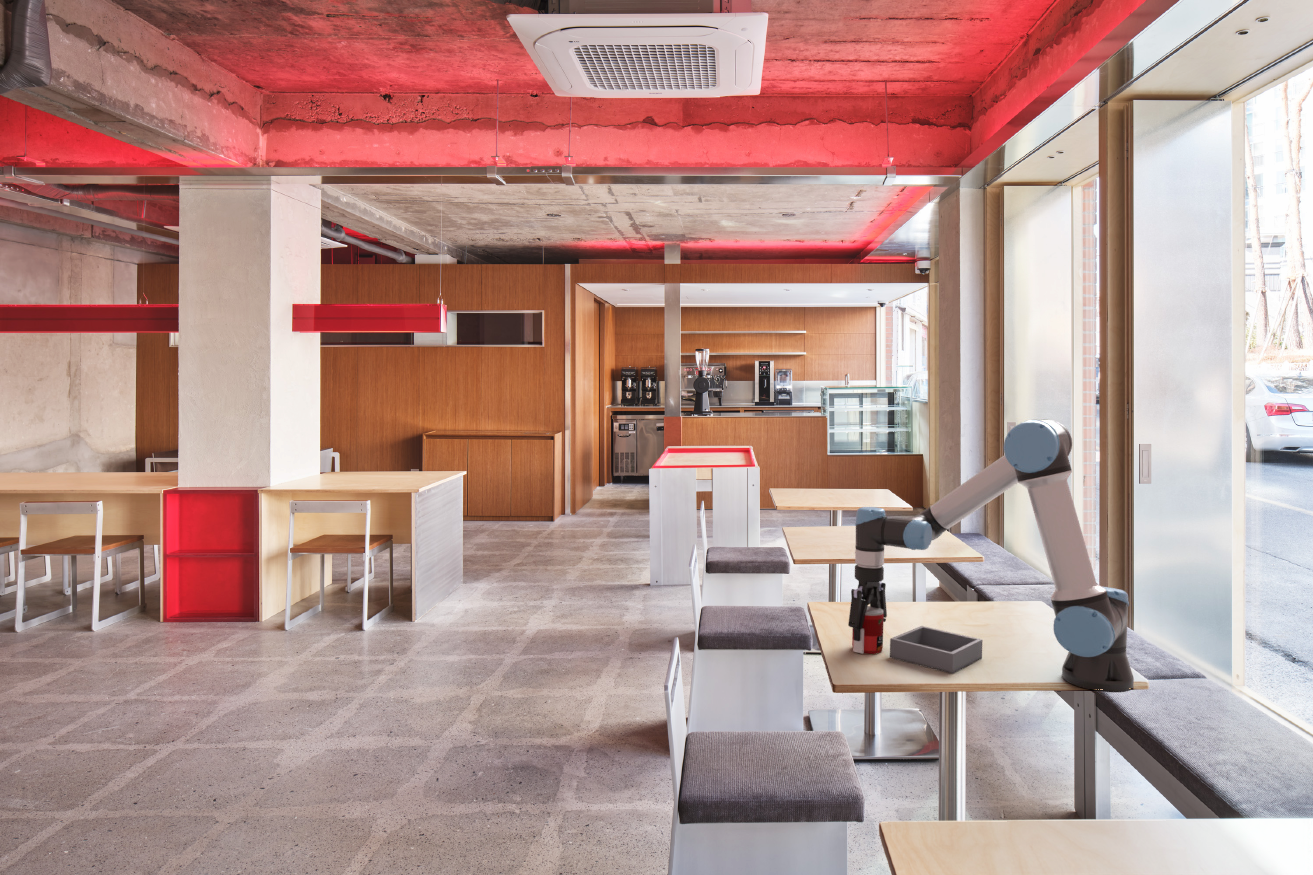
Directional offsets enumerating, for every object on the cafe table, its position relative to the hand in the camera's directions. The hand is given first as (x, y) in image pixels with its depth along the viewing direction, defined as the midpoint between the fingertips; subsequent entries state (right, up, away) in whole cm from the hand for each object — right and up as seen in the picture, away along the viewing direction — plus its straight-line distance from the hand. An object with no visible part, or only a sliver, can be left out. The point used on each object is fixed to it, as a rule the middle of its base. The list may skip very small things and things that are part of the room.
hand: (867, 648), depth 217 cm
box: (+16, -1, -6) cm, 17 cm away
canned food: (0, -1, 0) cm, 1 cm away
